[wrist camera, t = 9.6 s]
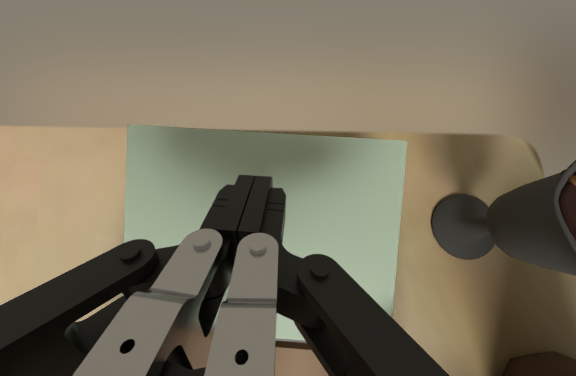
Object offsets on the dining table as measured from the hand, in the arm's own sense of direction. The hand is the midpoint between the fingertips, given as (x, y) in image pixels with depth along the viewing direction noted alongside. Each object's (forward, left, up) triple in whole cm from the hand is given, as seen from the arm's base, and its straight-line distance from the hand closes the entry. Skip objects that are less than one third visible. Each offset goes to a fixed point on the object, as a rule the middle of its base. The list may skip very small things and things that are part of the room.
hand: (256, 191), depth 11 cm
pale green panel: (0, +8, -5) cm, 9 cm away
